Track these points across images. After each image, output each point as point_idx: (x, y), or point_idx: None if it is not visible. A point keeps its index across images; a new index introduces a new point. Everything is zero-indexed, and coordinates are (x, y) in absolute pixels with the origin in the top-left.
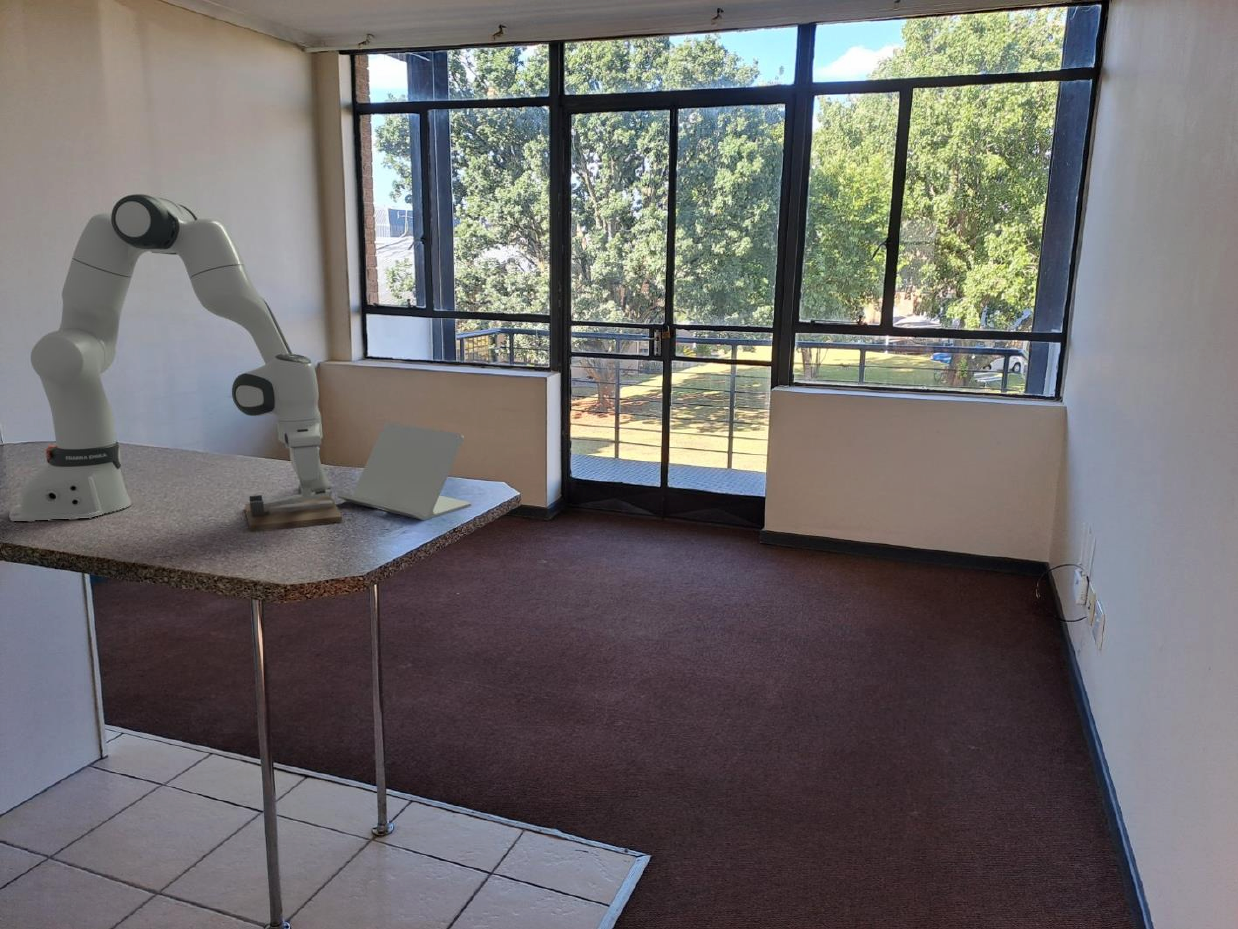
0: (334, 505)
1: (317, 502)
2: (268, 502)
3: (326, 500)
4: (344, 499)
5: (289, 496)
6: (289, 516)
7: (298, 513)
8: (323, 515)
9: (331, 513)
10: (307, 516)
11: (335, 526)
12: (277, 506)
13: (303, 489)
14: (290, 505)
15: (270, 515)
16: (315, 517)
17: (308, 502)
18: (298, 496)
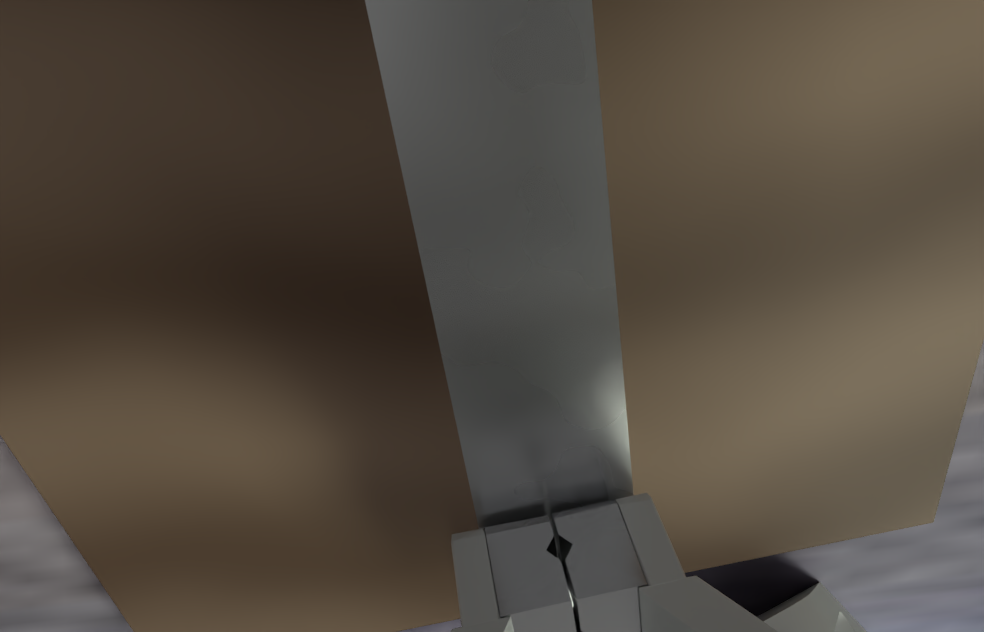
0: None
1: None
2: (421, 12)
3: (775, 515)
4: (784, 604)
5: (616, 331)
6: (181, 270)
7: (315, 349)
8: (203, 564)
9: (277, 605)
10: (173, 446)
11: (28, 609)
12: None
13: (465, 618)
14: None
15: (253, 6)
16: (124, 516)
17: None
18: (528, 453)
